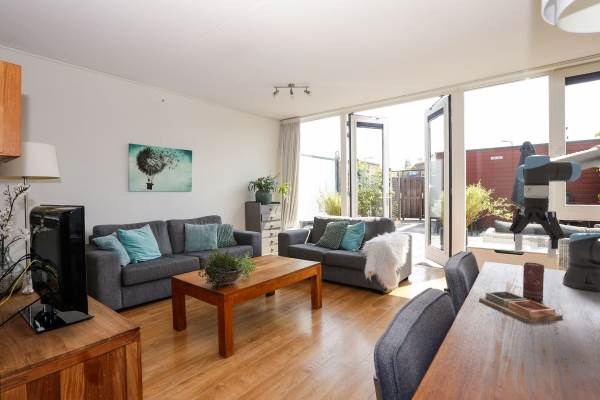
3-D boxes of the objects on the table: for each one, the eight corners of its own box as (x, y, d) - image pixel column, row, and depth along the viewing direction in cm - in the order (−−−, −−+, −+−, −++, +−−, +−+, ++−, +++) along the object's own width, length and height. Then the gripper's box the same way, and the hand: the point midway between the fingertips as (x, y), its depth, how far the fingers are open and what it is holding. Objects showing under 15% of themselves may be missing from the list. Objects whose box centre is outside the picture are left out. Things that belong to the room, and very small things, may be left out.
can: (547, 304, 117) (548, 266, 117) (527, 302, 119) (528, 265, 118) (538, 298, 123) (539, 262, 123) (519, 297, 125) (520, 261, 124)
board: (510, 298, 124) (510, 290, 124) (562, 319, 104) (562, 309, 104) (479, 300, 121) (479, 292, 121) (526, 322, 101) (526, 312, 101)
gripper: (500, 196, 131) (498, 248, 132) (561, 198, 106) (558, 261, 107) (515, 196, 132) (514, 247, 133) (579, 198, 108) (577, 260, 109)
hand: (534, 254), depth 120 cm, fingers open, 13 cm apart
